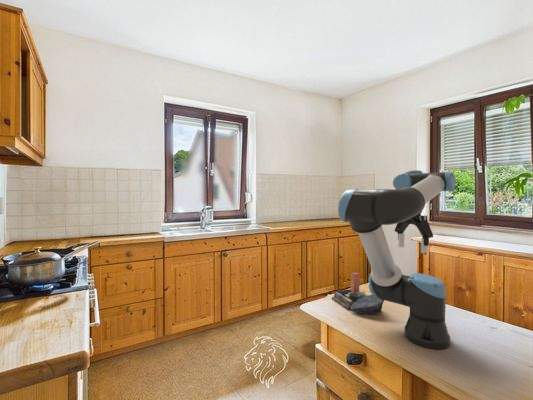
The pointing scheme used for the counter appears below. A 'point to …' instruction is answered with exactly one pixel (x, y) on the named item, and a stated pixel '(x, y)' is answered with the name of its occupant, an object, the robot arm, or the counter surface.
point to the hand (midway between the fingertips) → (412, 249)
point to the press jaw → (355, 288)
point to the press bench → (343, 298)
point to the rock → (368, 305)
